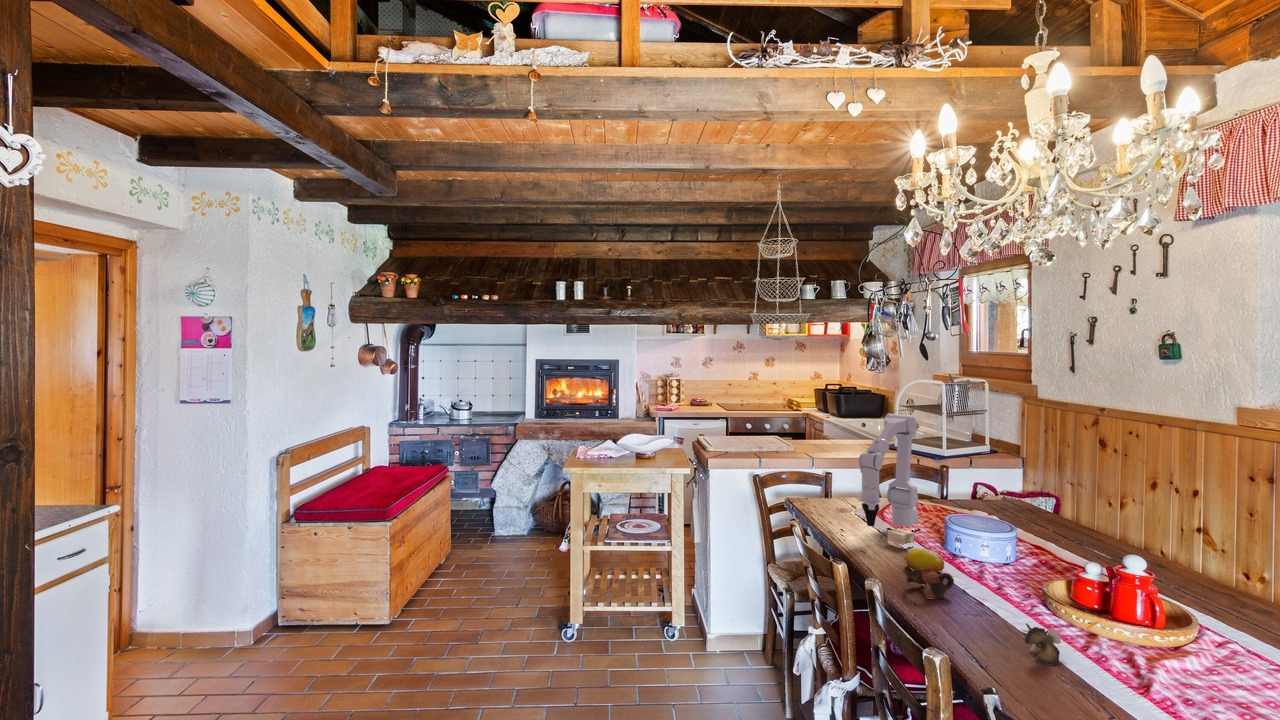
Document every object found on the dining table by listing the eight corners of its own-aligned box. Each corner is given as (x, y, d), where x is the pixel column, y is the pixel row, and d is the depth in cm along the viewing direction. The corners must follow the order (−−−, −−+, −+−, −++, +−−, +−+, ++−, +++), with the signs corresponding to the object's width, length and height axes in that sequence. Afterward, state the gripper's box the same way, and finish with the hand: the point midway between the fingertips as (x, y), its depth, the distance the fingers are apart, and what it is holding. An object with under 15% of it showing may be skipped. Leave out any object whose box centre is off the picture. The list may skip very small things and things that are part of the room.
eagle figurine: (1014, 636, 135) (1014, 645, 127) (1034, 613, 133) (1036, 620, 126) (1048, 662, 130) (1050, 673, 123) (1069, 639, 129) (1073, 649, 122)
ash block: (898, 542, 206) (898, 528, 206) (913, 546, 201) (913, 532, 201) (887, 545, 203) (887, 530, 203) (903, 549, 198) (903, 535, 198)
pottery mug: (916, 602, 156) (905, 571, 160) (911, 605, 165) (900, 575, 169) (963, 594, 155) (950, 562, 159) (955, 597, 163) (943, 566, 167)
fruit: (954, 575, 173) (946, 550, 173) (920, 585, 174) (912, 560, 173) (935, 561, 185) (928, 537, 184) (903, 570, 185) (896, 547, 185)
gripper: (857, 481, 212) (857, 518, 212) (859, 490, 198) (859, 530, 198) (878, 483, 210) (878, 520, 210) (881, 492, 196) (881, 532, 196)
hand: (870, 525), depth 204 cm, fingers closed
